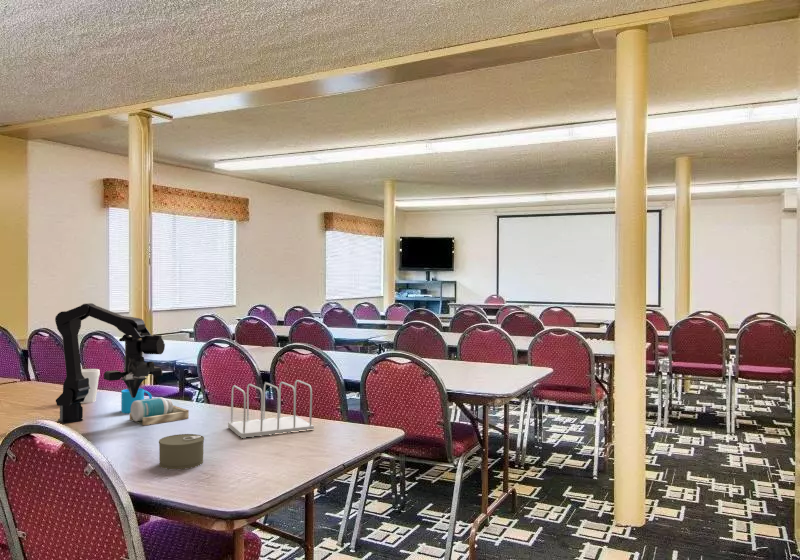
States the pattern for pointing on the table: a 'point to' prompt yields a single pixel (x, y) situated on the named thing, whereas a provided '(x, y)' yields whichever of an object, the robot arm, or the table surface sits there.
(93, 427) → the table surface
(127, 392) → the mug
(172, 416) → the cradle
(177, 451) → the can
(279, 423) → the file sorter
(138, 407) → the pill bottle
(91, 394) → the foam cup
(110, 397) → the table surface
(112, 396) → the table surface
